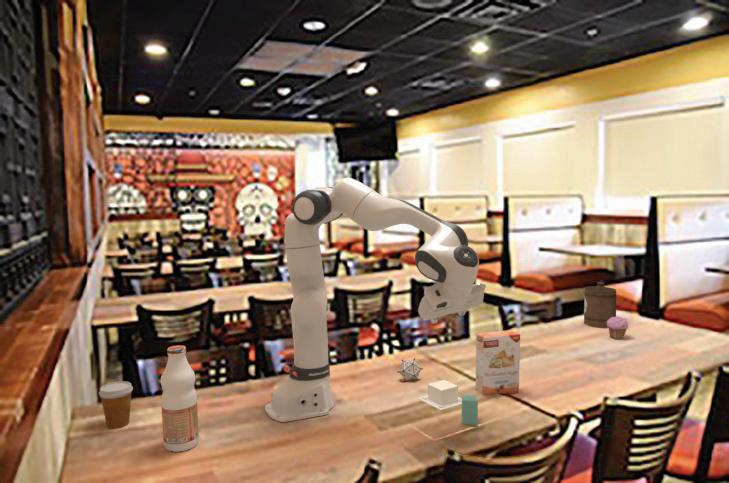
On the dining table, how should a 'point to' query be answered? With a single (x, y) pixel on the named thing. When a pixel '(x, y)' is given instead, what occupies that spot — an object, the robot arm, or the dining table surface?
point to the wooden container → (599, 305)
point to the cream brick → (443, 392)
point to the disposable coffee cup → (116, 403)
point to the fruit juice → (179, 402)
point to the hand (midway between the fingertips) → (447, 317)
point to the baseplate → (440, 407)
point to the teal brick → (470, 410)
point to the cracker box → (497, 362)
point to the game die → (410, 370)
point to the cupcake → (617, 327)
